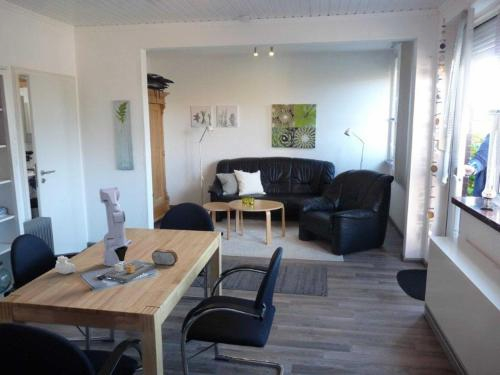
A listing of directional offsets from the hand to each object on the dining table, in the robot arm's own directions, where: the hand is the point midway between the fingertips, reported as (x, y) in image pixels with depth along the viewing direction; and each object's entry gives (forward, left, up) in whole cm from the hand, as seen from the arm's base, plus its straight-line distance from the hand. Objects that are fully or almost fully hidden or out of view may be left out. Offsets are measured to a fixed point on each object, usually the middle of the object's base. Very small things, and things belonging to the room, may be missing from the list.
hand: (121, 260), depth 209 cm
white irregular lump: (-35, -6, -10) cm, 37 cm away
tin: (+8, +25, -10) cm, 28 cm away
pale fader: (-5, +3, -7) cm, 10 cm away
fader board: (-2, +8, -10) cm, 13 cm away
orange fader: (+2, +4, -7) cm, 9 cm away
